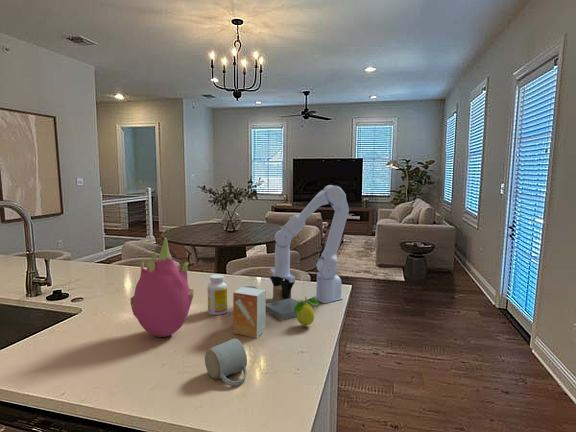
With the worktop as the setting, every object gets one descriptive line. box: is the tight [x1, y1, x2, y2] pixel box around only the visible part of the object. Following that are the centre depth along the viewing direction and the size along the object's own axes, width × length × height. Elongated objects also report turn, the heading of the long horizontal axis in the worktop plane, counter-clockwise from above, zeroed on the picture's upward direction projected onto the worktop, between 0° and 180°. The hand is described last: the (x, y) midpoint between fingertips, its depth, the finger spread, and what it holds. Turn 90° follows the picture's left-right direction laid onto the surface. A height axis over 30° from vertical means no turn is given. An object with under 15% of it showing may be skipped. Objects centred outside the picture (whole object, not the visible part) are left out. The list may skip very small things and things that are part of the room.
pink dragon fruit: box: [129, 236, 195, 338], centre depth 111 cm, size 18×14×30 cm
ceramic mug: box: [204, 338, 248, 387], centre depth 90 cm, size 11×8×8 cm
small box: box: [232, 286, 267, 339], centre depth 114 cm, size 8×6×13 cm
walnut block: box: [272, 285, 292, 302], centre depth 144 cm, size 5×5×5 cm
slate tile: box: [266, 297, 300, 321], centre depth 133 cm, size 12×12×2 cm
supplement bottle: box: [207, 274, 228, 316], centre depth 131 cm, size 7×7×13 cm
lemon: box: [294, 297, 319, 327], centre depth 120 cm, size 7×6×10 cm
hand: (281, 296), depth 145 cm, fingers closed on walnut block, 5 cm apart
